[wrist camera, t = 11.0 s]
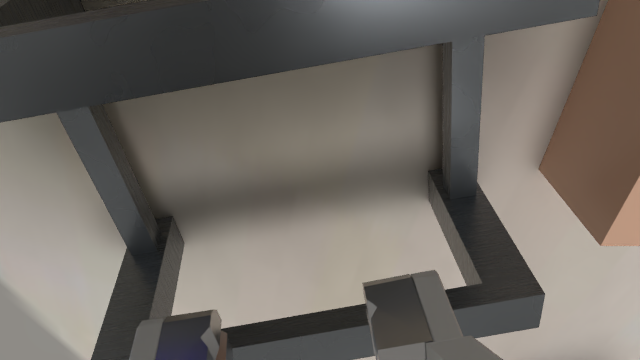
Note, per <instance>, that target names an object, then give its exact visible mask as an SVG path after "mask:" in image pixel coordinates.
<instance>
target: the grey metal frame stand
mask: <svg viewBox="0 0 640 360" xmlns="http://www.w3.org/2000/svg"><path fill="white" fill-rule="evenodd" d="M599 1H600V0H147V1H141V2H136V3H130V4H125V5H119V6H114V7H108V8H103V9H97V10H92V11H86V12H85V11H84V8H83V6H82V4H81V1H80V0H0V122H5V121H11V120H17V119H22V118H28V117H33V116H39V115H45V114H50V113H57V115H58V116H59V118H60V120H61V122H62V124H63V126H64V128H65V130H66V132H67V134H68V135H69V137H70V139H71V141H72V143H73V145H74V147H75V149H76V151H77V153H78V154H79V156H80V158H81V160H82V162H83V164H84V166H85V168H86V170H87V172H88V174H89V175H90V177H91V179H92V181H93V183H94V185H95V187H96V189H97V191H98V193H99V194H100V196H101V198H102V200H103V202H104V204H105V206H106V208H107V210H108V212H109V213H110V215H111V217H112V219H113V221H114V223H115V225H116V227H117V229H118V231H119V232H120V234H121V236H122V238H123V240H124V242H125V244H126V246H127V249H126V252H125V255H124V259H123V262H122V265H121V268H120V271H119V274H118V277H117V280H116V283H115V287H114V290H113V293H112V296H111V299H110V302H109V305H108V308H107V311H106V315H105V318H104V321H103V324H102V327H101V330H100V333H99V336H98V339H97V343H96V346H95V349H94V352H93V355H92V358H91V360H129V358H130V354H131V350H132V346H133V342H134V338H135V334H136V330H137V328H138V326H139V324H140V323H141V321H143V320H150V319H156V318H162V317H167V316H171V313H172V308H173V303H174V297H175V292H176V287H177V281H178V276H179V270H180V265H181V260H182V254H183V249H184V242H183V240H182V237H181V235H180V233H179V230H178V228H177V226H176V223H175V221H174V219H173V216H172V217H166V218H161V219H155V218H154V216H153V214H152V212H151V210H150V207H149V205H148V203H147V201H146V199H145V196H144V194H143V192H142V190H141V188H140V186H139V183H138V181H137V179H136V177H135V175H134V172H133V170H132V168H131V166H130V164H129V162H128V159H127V157H126V155H125V153H124V151H123V148H122V146H121V144H120V142H119V140H118V138H117V135H116V133H115V131H114V129H113V127H112V124H111V122H110V120H109V118H108V116H107V114H106V111H105V109H104V107H103V105H102V104H106V103H112V102H117V101H123V100H128V99H134V98H139V97H145V96H151V95H156V94H162V93H167V92H173V91H179V90H184V89H190V88H195V87H201V86H206V85H212V84H218V83H223V82H229V81H234V80H240V79H246V78H251V77H257V76H262V75H268V74H273V73H279V72H285V71H290V70H296V69H301V68H307V67H313V66H318V65H324V64H329V63H335V62H340V61H346V60H352V59H357V58H363V57H368V56H374V55H380V54H385V53H391V52H396V51H402V50H407V49H413V48H419V47H424V46H430V45H435V44H441V43H443V169H438V170H432V171H428V179H429V202H430V204H431V207H432V209H433V211H434V213H435V216H436V218H437V220H438V222H439V225H440V227H441V229H442V231H443V233H444V236H445V238H446V240H447V242H448V245H449V247H450V249H451V251H452V254H453V256H454V258H455V260H456V263H457V265H458V267H459V269H460V272H461V274H462V276H463V278H464V280H465V283H466V285H467V286H464V287H458V288H453V289H447V290H445V292H446V294H447V297H448V299H449V302H450V304H451V307H452V309H453V312H454V314H455V317H456V319H457V322H458V325H459V327H460V330H461V332H462V335H463V337H464V336H472V337H474V338H480V337H486V336H491V335H497V334H503V333H509V332H514V331H520V330H526V329H532V328H537V327H539V324H540V319H541V313H542V308H543V302H544V297H545V293H544V292H543V290H542V288H541V287H540V285H539V283H538V282H537V280H536V278H535V277H534V275H533V273H532V272H531V270H530V268H529V267H528V265H527V264H526V262H525V260H524V259H523V257H522V255H521V254H520V252H519V250H518V249H517V247H516V245H515V244H514V242H513V240H512V239H511V237H510V235H509V234H508V232H507V231H506V229H505V227H504V226H503V224H502V222H501V221H500V219H499V217H498V216H497V214H496V212H495V211H494V209H493V207H492V206H491V204H490V202H489V201H488V199H487V198H486V196H485V194H484V193H483V191H482V189H481V188H480V186H479V184H478V183H477V172H478V152H479V133H480V114H481V95H482V75H483V56H484V37H485V36H486V35H491V34H497V33H502V32H508V31H513V30H519V29H525V28H530V27H536V26H541V25H547V24H553V23H558V22H564V21H569V20H575V19H580V18H586V17H592V16H597V12H598V6H599ZM366 309H367V308H366V304H361V305H355V306H350V307H344V308H338V309H332V310H327V311H321V312H315V313H309V314H304V315H298V316H292V317H287V318H281V319H275V320H269V321H264V322H258V323H252V324H246V325H241V326H235V327H229V328H224V329H221V330H222V331H224V332H225V333H227V334H228V337H229V339H230V342H231V346H232V350H233V360H353V359H359V358H365V357H370V356H375V355H374V351H373V346H372V342H371V337H370V332H369V325H368V319H367V313H366Z"/></svg>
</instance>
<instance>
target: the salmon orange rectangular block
mask: <svg viewBox="0 0 640 360" xmlns="http://www.w3.org/2000/svg"><path fill="white" fill-rule="evenodd" d="M539 170H540V172H541V173H542V174H543V175H544V177H545V178H546V179H547V180H548V181H549V183H550V184H551V185H552V186H553V188H554V189H555V190H556V191H557V193H558V194H559V195H560V196H561V198H562V199H563V200H564V201H565V203H566V204H567V205H568V206H569V207H570V209H571V210H572V211H573V212H574V214H575V215H576V216H577V217H578V219H579V220H580V221H581V222H582V224H583V225H584V226H585V227H586V229H587V230H588V231H589V232H590V233H591V235H592V236H593V237H594V238H595V240H596V241H597V242H598V243H599V245H600V246H640V0H608V2H607V5H606V7H605V10H604V12H603V14H602V17H601V19H600V22H599V24H598V27H597V29H596V31H595V34H594V36H593V39H592V41H591V44H590V46H589V48H588V51H587V53H586V56H585V58H584V60H583V63H582V65H581V68H580V70H579V73H578V75H577V77H576V80H575V82H574V85H573V87H572V90H571V92H570V94H569V97H568V99H567V102H566V104H565V106H564V109H563V111H562V114H561V116H560V119H559V121H558V123H557V126H556V128H555V131H554V133H553V136H552V138H551V140H550V143H549V145H548V148H547V150H546V152H545V155H544V157H543V160H542V162H541V165H540V167H539Z"/></svg>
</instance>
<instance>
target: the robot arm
mask: <svg viewBox="0 0 640 360" xmlns="http://www.w3.org/2000/svg"><path fill="white" fill-rule="evenodd" d="M362 284H363V293H364V298H365V303H366V308H367V309H366V313H367V319H368V325H369V332H370V337H371V342H372V346H373V351H374V355H375V356H376V360H503V359H501V358H500V357H499V356H497V355H496V354H495V353H493V352H492V351H491V350H489V349H488V348H487V347H486V346H484V345H483V344H482V343H480V342H479V341H478V340H476V339H475V338H474V337H472V336H464V337H463V335H462V332H461V330H460V327H459V325H458V322H457V319H456V317H455V314H454V312H453V309H452V307H451V304H450V302H449V299H448V297H447V294H446V292H445V289H444V287H443V284H442V282H441V279H440V277H439V274H438V273H437V272H436V271H435V270H431V271H426V272H420V273H415V274H411V275H409V274H407V275H402V276H396V277H391V278H386V279H380V280H375V281H370V282H364V283H362ZM221 321H222V320H221V318H220V316H219V314H218V311H217V310H208V311H201V312H194V313H188V314H181V315H174V316H167V317H162V318H156V319H150V320H143V321H141V323H140V324H139V326H138V328H137V330H136V334H135V338H134V342H133V346H132V350H131V354H130V358H129V360H233V350H232V346H231V342H230V339H229V337H228V334H227V333H225V332H224V331H222V330H221Z"/></svg>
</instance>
